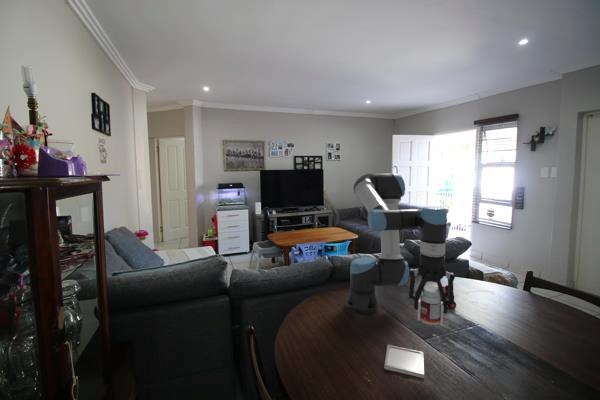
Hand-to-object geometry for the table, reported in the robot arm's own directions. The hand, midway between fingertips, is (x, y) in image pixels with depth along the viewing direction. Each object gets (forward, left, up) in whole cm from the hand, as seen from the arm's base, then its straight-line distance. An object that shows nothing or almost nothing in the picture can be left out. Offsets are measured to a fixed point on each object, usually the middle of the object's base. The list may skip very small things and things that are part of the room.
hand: (429, 320), depth 95 cm
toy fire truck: (+8, +44, -15) cm, 47 cm away
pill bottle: (0, 0, -1) cm, 1 cm away
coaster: (-8, -4, -15) cm, 17 cm away
